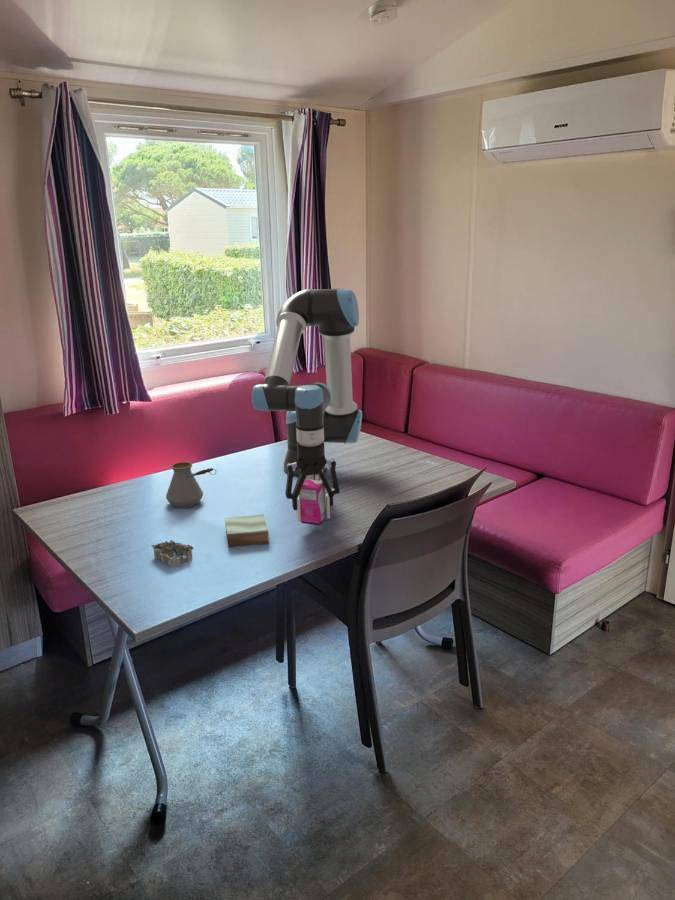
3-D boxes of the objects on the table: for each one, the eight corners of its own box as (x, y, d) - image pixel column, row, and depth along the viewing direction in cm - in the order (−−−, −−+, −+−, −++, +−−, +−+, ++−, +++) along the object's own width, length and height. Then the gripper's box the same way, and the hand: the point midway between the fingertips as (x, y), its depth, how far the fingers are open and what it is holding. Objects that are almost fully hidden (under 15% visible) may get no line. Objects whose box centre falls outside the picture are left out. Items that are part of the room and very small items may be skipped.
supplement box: (308, 515, 194) (306, 478, 190) (326, 517, 192) (325, 480, 188) (299, 523, 189) (298, 485, 185) (318, 526, 187) (317, 488, 183)
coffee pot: (159, 504, 211) (154, 459, 206) (188, 493, 219) (184, 450, 215) (202, 521, 198) (198, 474, 193) (231, 509, 206) (228, 463, 201)
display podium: (226, 531, 191) (225, 518, 190) (264, 527, 193) (263, 514, 192) (228, 547, 181) (227, 534, 180) (268, 543, 183) (267, 530, 182)
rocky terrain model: (196, 561, 174) (195, 546, 173) (171, 570, 170) (169, 556, 168) (175, 548, 182) (174, 534, 181) (150, 557, 177) (149, 543, 176)
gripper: (274, 449, 177) (279, 527, 184) (350, 443, 181) (351, 519, 188) (271, 441, 184) (275, 516, 191) (344, 435, 188) (345, 509, 195)
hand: (313, 518), depth 190 cm, fingers closed on supplement box, 8 cm apart
